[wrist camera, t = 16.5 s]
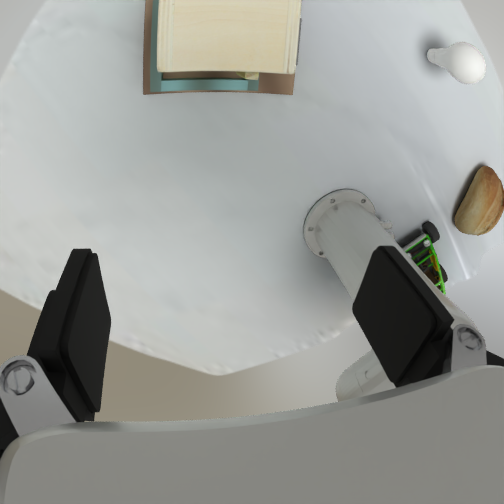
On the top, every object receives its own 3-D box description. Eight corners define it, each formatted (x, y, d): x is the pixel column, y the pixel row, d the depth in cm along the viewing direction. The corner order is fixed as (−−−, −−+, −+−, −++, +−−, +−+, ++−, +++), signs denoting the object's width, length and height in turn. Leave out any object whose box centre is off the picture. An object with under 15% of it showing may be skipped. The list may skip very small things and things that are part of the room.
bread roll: (494, 168, 52) (520, 185, 45) (468, 228, 60) (490, 248, 54) (470, 157, 49) (499, 175, 43) (443, 223, 57) (467, 246, 51)
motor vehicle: (426, 216, 55) (459, 248, 47) (438, 274, 67) (463, 304, 58) (379, 249, 57) (408, 285, 49) (399, 302, 69) (422, 335, 60)
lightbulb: (432, 30, 34) (484, 38, 25) (448, 62, 38) (498, 76, 29) (408, 48, 36) (461, 57, 27) (426, 80, 39) (476, 96, 30)
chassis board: (298, -7, 30) (311, -12, 26) (288, 93, 38) (300, 98, 34) (148, -14, 26) (144, -21, 23) (144, 93, 34) (140, 98, 31)
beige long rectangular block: (169, 67, 32) (155, 84, 15) (171, 9, 28) (161, -38, 11) (238, 66, 34) (298, 86, 17) (242, 9, 29) (307, -28, 13)
